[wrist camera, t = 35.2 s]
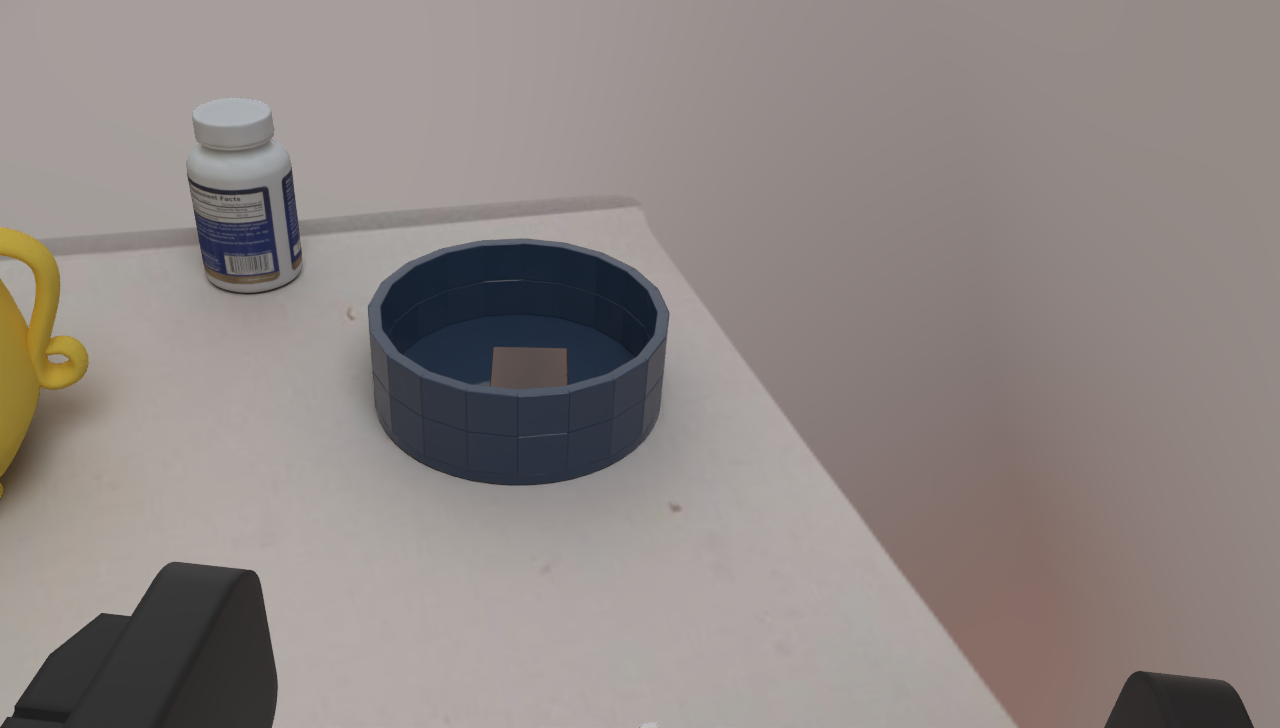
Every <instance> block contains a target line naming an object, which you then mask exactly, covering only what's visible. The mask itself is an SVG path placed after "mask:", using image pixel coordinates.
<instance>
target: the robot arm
mask: <svg viewBox="0 0 1280 728" xmlns="http://www.w3.org/2000/svg"><path fill="white" fill-rule="evenodd" d="M277 691H278V682H277V672H276V667H275V661H274V656H273V650H272V644H271V639H270V633H269V627H268V622H267V616H266V611H265V605H264V599H263V594H262V588H261V584H260V580H259V577H258V575H257V574H256V573H255V572H254V571H252V570H246V569H236V568H227V567H218V566H209V565H200V564H191V563H182V562H171V563H169V564H167V565H166V566H164V567H163V568H162V569H161V570H160V572H159V573H158V574H157V576H156V577H155V579H154V580H153V582H152V583H151V585H150V587H149V588H148V590H147V591H146V593H145V595H144V596H143V598H142V599H141V601H140V603H139V604H138V606H137V608H136V609H135V611H134V612H133V614H132V616H123V615H114V614H105V613H101V614H100V615H99V616H97V617H96V618H95V619H94V620H92V621H91V622H90V623H89V624H87V625H86V626H85V627H84V628H82V629H81V630H80V631H79V632H77V633H76V634H75V635H74V636H72V637H71V638H70V639H69V640H67V641H66V642H65V643H64V644H62V645H61V646H60V647H59V648H57V649H56V650H55V651H54V652H52V653H51V654H50V655H49V656H48V658H47V659H46V661H45V662H44V664H43V665H42V666H41V668H40V669H39V671H38V672H37V674H36V675H35V677H34V678H33V680H32V681H31V683H30V684H29V686H28V687H27V689H26V690H25V692H24V693H23V695H22V696H21V698H20V699H19V700H18V702H17V703H16V705H15V706H14V707H15V711H14V714H13V716H12V717H7V718H6V720H5V721H4V723H3V724H2V726H1V727H0V728H272V724H273V720H274V715H275V710H276V703H277ZM1104 728H1254V727H1253V725H1252V723H1251V720H1250V718H1249V716H1248V714H1247V711H1246V709H1245V707H1244V705H1243V703H1242V700H1241V698H1240V697H1239V695H1238V693H1237V692H1236V691H1235V689H1234V688H1233V687H1232V686H1231V685H1230V684H1229V683H1227V682H1225V681H1222V680H1216V679H1207V678H1198V677H1188V676H1180V675H1170V674H1161V673H1152V672H1143V671H1138V672H1135V673H1133V674H1132V675H1131V676H1130V677H1129V678H1128V679H1127V681H1126V683H1125V685H1124V687H1123V689H1122V691H1121V693H1120V695H1119V697H1118V699H1117V701H1116V704H1115V706H1114V708H1113V710H1112V712H1111V714H1110V716H1109V718H1108V721H1107V723H1106V725H1105V727H1104Z"/></svg>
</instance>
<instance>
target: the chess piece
mask: <svg viewBox="0 0 1280 728" xmlns="http://www.w3.org/2000/svg"><path fill="white" fill-rule="evenodd" d="M639 728H659V727H658V725H657V723H656V721H654V722H650V723H646V724H642V725H640V726H639Z"/></svg>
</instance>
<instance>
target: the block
mask: <svg viewBox="0 0 1280 728" xmlns="http://www.w3.org/2000/svg"><path fill="white" fill-rule="evenodd" d="M566 385H568V350H567V348H530V347H493V353H492V366H491V378H490V386H491V387H500V388H510V389H530V388H543V387H555V386H566Z"/></svg>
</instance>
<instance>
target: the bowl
mask: <svg viewBox="0 0 1280 728" xmlns="http://www.w3.org/2000/svg"><path fill="white" fill-rule="evenodd" d="M368 317H369V333H370V345H371V358H372V370H373V382H374V395H375V407H376V411H377V414H378V417H379V420H380V423H381V424H382V426H383V428H384V430H385V431H386V433H387V434H388V435H389V437H390V438H391V439H392V440H393V441H394V443H395V444H396V445H398V446H399V447H400V448H401V449H402V450H403V451H405V452H406V453H407V454H409V455H410V456H412V457H413V458H415V459H416V460H418V461H420V462H421V463H424V464H426V465H428V466H430V467H432V468H434V469H436V470H439V471H442V472H444V473H447V474H450V475H453V476H457V477H461V478H465V479H469V480H473V481H479V482H486V483H493V484H508V485H530V484H542V483H552V482H558V481H563V480H568V479H573V478H577V477H580V476H583V475H587V474H590V473H593V472H595V471H598V470H600V469H603V468H605V467H608V466H609V465H611V464H613V463H615V462H617V461H619V460H620V459H622V458H624V457H625V456H626V455H628V454H629V453H630V452H632V451H633V450H635V449H636V448H637V447H638V446H639V445H640V444H641V443H642V442H643V441H644V440H645V439H646V437H647V436H648V434H649V433H650V432H651V430H652V429H653V427H654V425H655V423H656V420H657V418H658V414H659V410H660V403H661V394H662V385H663V375H664V365H665V355H666V344H667V334H668V324H669V311H668V309H667V306H666V304H665V302H664V300H663V298H662V296H661V294H660V292H659V289H658V288H657V287H656V286H654V285H653V284H652V283H651V282H650V281H649V280H648V279H646V278H645V277H644V276H643V275H642V274H641V273H640V272H639V271H637V270H636V269H635V268H633V267H631V266H629V265H627V264H625V263H623V262H621V261H619V260H617V259H615V258H612V257H610V256H608V255H606V254H604V253H602V252H598V251H594V250H590V249H587V248H583V247H579V246H575V245H572V244H568V243H564V242H554V241H544V240H534V239H502V240H482V241H476V242H471V243H466V244H461V245H457V246H452V247H447V248H442V249H439V250H437V251H434V252H432V253H429V254H427V255H425V256H422V257H420V258H417V259H415V260H413V261H410V262H408V263H406V264H405V265H403V266H402V267H401V268H400V269H398V270H397V271H396V272H394V273H393V274H392V275H390V276H389V277H388V278H387V279H385V280H384V281H383V282H382V283H381V284H380V286H379V288H378V289H377V291H376V293H375V295H374V296H373V298H372V300H371V302H370V304H369V305H368ZM493 347H530V348H567V350H568V385H566V386H555V387H543V388H530V389H510V388H500V387H491V386H490V378H491V366H492V353H493Z"/></svg>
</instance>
